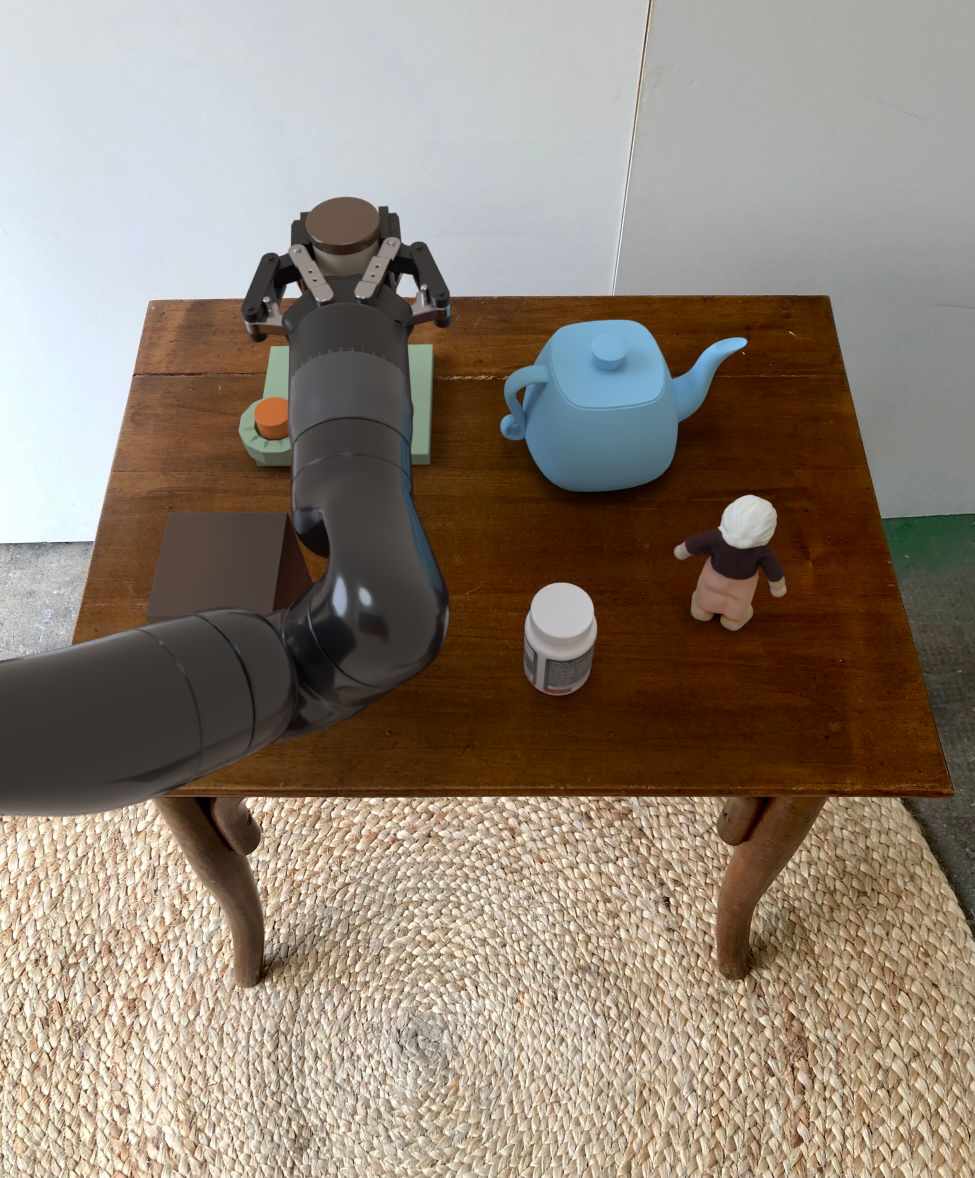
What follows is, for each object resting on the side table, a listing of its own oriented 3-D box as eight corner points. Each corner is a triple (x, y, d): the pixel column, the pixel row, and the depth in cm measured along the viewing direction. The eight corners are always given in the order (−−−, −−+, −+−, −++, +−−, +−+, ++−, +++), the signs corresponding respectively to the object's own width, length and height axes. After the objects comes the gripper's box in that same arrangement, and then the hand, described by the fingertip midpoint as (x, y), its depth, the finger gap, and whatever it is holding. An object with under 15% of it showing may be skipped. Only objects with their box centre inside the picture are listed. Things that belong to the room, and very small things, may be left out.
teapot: (771, 398, 62) (511, 422, 61) (736, 491, 71) (509, 513, 71) (727, 273, 68) (490, 293, 68) (700, 373, 78) (491, 392, 77)
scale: (244, 476, 73) (234, 452, 70) (263, 357, 79) (255, 331, 77) (429, 474, 73) (427, 450, 70) (434, 355, 79) (431, 329, 76)
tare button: (256, 440, 71) (251, 426, 70) (261, 411, 73) (256, 396, 71) (294, 440, 71) (290, 425, 70) (298, 411, 73) (294, 396, 71)
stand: (218, 720, 62) (144, 616, 49) (234, 630, 66) (168, 511, 53) (320, 721, 62) (272, 617, 49) (330, 630, 66) (288, 511, 53)
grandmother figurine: (768, 594, 67) (820, 492, 56) (764, 640, 65) (817, 544, 54) (663, 575, 68) (695, 471, 57) (657, 619, 66) (688, 520, 55)
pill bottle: (602, 656, 64) (614, 598, 57) (569, 709, 62) (577, 655, 55) (544, 625, 66) (550, 564, 58) (510, 675, 64) (511, 619, 56)
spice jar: (314, 324, 69) (290, 223, 61) (359, 289, 71) (341, 186, 63) (361, 355, 67) (343, 254, 59) (407, 317, 69) (394, 215, 61)
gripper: (464, 344, 53) (443, 163, 61) (216, 364, 52) (230, 179, 61) (468, 429, 59) (449, 254, 68) (248, 448, 59) (257, 269, 67)
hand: (346, 220), depth 64 cm, fingers closed on spice jar, 5 cm apart
